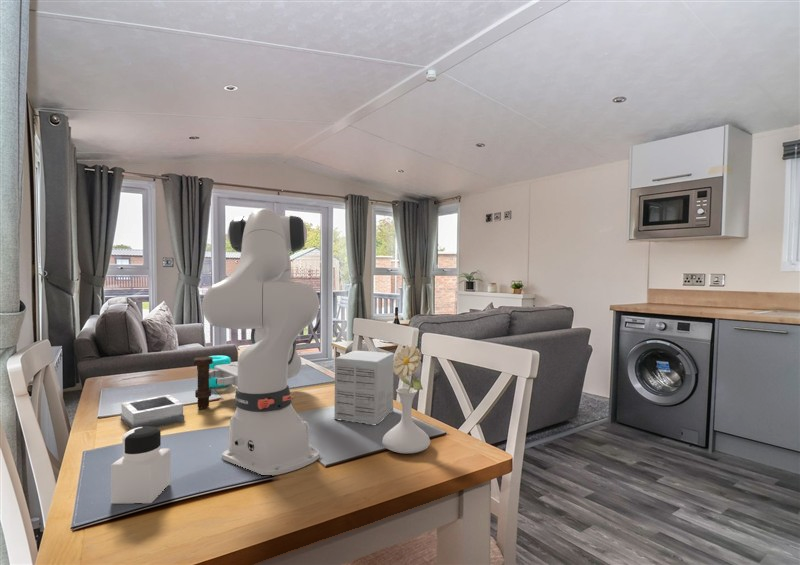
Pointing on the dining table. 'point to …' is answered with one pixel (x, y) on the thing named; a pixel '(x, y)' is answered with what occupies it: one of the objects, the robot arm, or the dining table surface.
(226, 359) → the donuts
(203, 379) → the bolt
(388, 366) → the supplement box
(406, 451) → the flower in vase
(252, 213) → the robot arm
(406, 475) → the dining table surface
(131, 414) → the docking socket
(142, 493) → the medicine bottle
